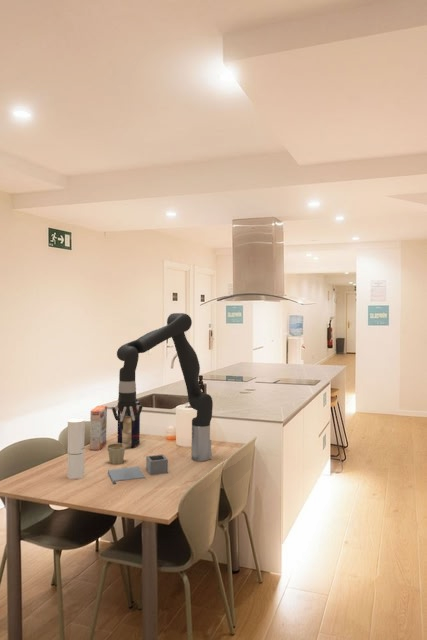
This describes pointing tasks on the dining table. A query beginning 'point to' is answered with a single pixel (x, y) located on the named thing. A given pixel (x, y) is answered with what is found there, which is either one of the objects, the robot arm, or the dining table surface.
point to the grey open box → (156, 464)
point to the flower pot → (116, 453)
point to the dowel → (126, 431)
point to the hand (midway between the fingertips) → (126, 428)
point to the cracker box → (98, 427)
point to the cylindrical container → (75, 449)
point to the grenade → (134, 432)
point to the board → (125, 474)
